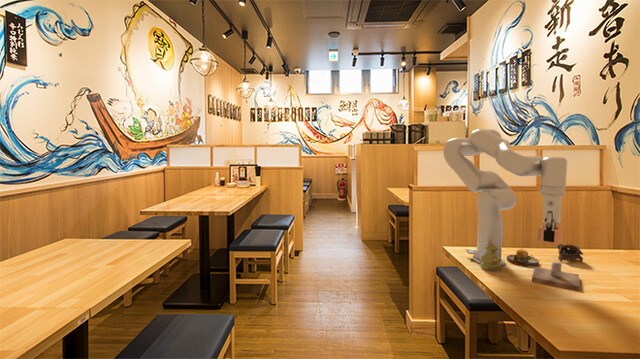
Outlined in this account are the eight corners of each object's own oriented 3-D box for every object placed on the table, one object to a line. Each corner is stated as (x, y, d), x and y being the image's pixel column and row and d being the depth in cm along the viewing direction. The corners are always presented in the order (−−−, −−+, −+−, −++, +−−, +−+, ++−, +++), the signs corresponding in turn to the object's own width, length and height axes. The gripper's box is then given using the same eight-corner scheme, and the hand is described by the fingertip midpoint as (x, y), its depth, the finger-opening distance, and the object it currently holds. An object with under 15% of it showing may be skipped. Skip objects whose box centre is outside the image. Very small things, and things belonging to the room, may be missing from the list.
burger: (545, 264, 142) (546, 247, 141) (527, 269, 137) (528, 251, 136) (517, 256, 153) (518, 240, 152) (500, 260, 148) (501, 243, 147)
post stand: (531, 281, 123) (532, 264, 123) (534, 270, 135) (535, 254, 134) (579, 290, 115) (581, 272, 115) (578, 278, 126) (579, 261, 126)
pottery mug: (590, 264, 143) (588, 250, 140) (570, 274, 143) (567, 260, 140) (567, 249, 154) (564, 236, 151) (548, 258, 155) (545, 245, 152)
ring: (537, 241, 122) (537, 227, 122) (539, 237, 127) (540, 224, 127) (560, 244, 118) (561, 230, 117) (562, 240, 123) (562, 227, 123)
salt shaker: (503, 272, 133) (504, 248, 131) (482, 271, 134) (484, 247, 133) (497, 265, 140) (499, 242, 138) (478, 263, 141) (479, 241, 140)
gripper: (563, 194, 112) (560, 246, 113) (566, 189, 125) (563, 236, 127) (537, 192, 117) (534, 242, 118) (542, 188, 130) (540, 233, 132)
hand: (549, 238), depth 122 cm, fingers closed on ring, 7 cm apart
